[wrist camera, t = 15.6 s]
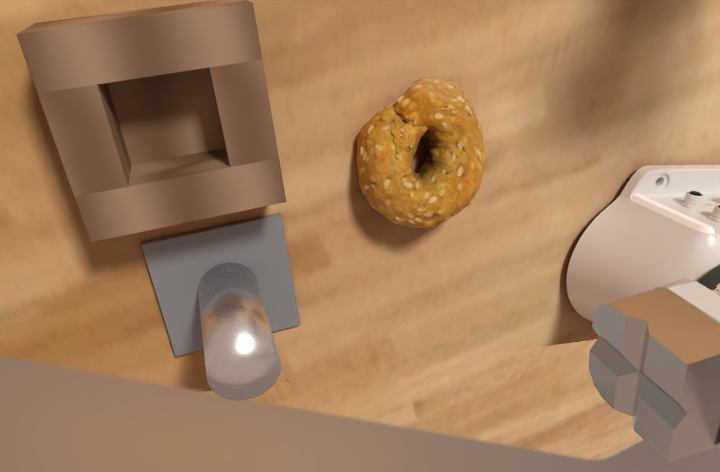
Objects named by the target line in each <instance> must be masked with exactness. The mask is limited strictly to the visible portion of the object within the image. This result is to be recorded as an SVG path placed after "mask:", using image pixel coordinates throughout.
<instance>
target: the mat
mask: <svg viewBox="0 0 720 472" xmlns="http://www.w3.org/2000/svg"><path fill="white" fill-rule="evenodd" d="M141 247H142V250H143V253H144V256H145V260H146V263H147V266H148V269H149V272H150V276H151V279H152V282H153V285H154V289H155V292H156V295H157V298H158V301H159V305H160V308H161V311H162V314H163V318H164V321H165V324H166V327H167V330H168V334H169V337H170V340H171V343H172V347H173V350H174V353H175V356H176V357H177V356H181V355H184V354H188V353H192V352H196V351H200V350H204V347H203V337H202V327H201V317H200V307H199V297H198V286H199V282H200V280H201V278H202V277H203V275H204V274H205V273H206V272H207V271H208V270H210V269H211V268H213V267H214V266H217V265H219V264H223V263H238V264H242V265H244V266H246V267H248V268H249V269H250V270H252V272H253V273H254V274H255V276H256V278H257V280H258V284H259V287H260V291H261V294H262V298H263V302H264V305H265V309H266V312H267V316H268V319H269V323H270V326H271V330H272V332H274V331H278V330H282V329H286V328H290V327H294V326H298V325H300V319H299V314H298V308H297V302H296V297H295V291H294V285H293V280H292V274H291V268H290V263H289V257H288V251H287V245H286V240H285V234H284V228H283V223H282V217H281V214H280V213H279V214H274V215H270V216H265V217H260V218H255V219H251V220H246V221H241V222H237V223H232V224H227V225H222V226H218V227H213V228H208V229H203V230H199V231H194V232H189V233H184V234H180V235H175V236H170V237H166V238H161V239H156V240H151V241H147V242H142V243H141Z"/></svg>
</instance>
